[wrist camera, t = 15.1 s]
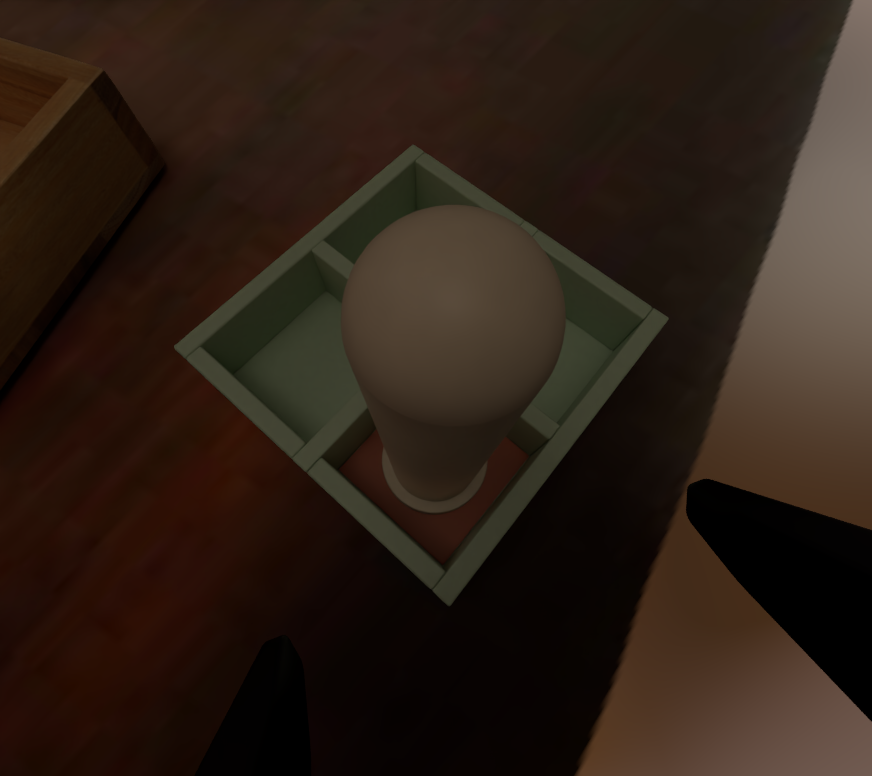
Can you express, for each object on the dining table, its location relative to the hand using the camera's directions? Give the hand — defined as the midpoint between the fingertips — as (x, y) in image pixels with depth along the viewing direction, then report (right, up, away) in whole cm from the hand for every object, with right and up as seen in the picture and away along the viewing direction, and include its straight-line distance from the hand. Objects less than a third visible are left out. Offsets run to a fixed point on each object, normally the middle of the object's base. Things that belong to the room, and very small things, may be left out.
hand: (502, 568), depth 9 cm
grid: (-2, +5, +11) cm, 12 cm away
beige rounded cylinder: (-1, +1, +8) cm, 9 cm away
